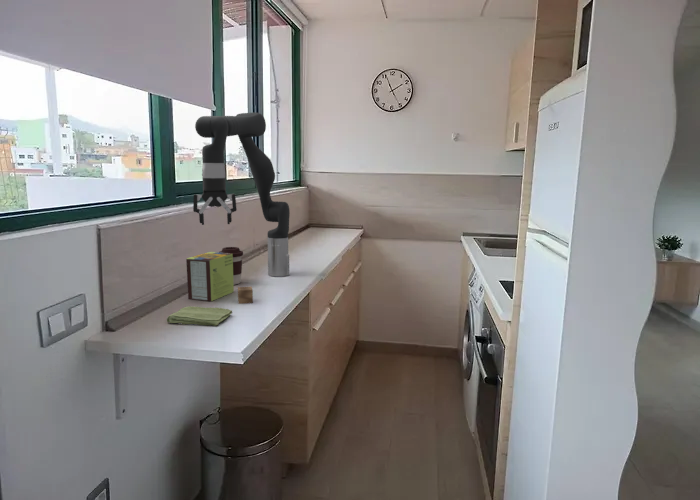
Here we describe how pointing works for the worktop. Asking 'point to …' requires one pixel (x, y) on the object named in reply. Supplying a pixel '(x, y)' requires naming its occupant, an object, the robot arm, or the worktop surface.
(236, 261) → the coffee cup
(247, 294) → the walnut cube
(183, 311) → the washcloth
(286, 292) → the worktop surface
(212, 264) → the protein box
